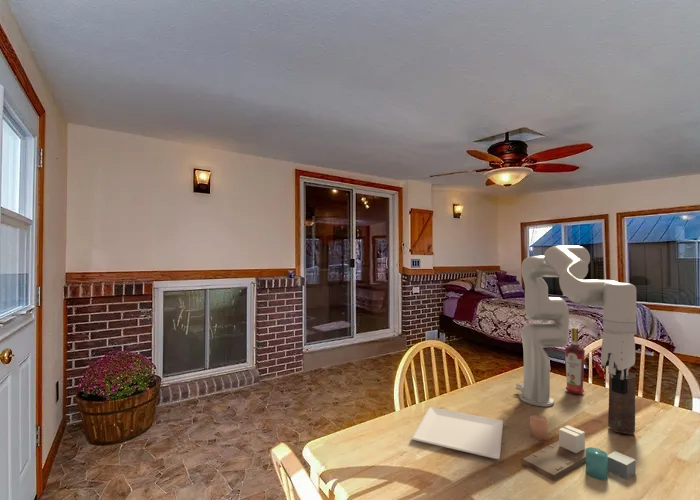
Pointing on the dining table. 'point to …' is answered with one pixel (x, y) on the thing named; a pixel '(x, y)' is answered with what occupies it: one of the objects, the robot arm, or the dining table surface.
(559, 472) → the rail
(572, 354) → the liquor
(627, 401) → the candle
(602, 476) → the teal rounded cylinder
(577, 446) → the slider
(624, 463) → the slate box
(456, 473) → the dining table surface
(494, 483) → the dining table surface
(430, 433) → the plate
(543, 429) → the peach domed cylinder
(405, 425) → the dining table surface
